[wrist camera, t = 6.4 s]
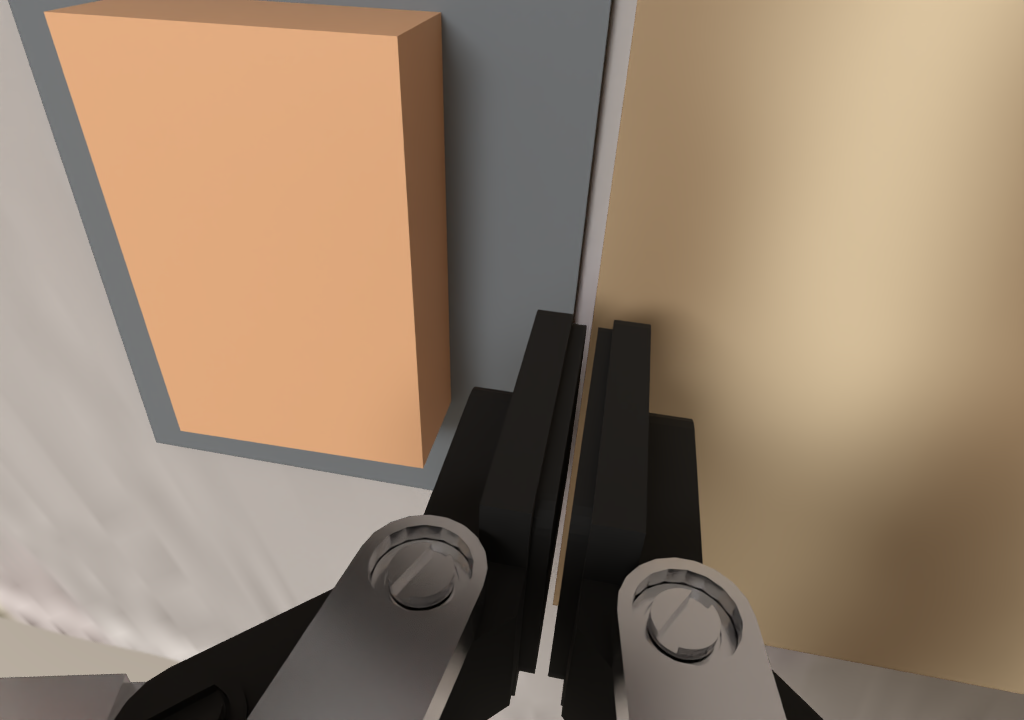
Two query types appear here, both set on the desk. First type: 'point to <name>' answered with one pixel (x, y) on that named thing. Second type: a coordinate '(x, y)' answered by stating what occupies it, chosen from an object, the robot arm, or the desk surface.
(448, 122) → the mat
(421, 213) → the orange rectangular block
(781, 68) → the tan flat square block
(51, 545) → the desk surface
